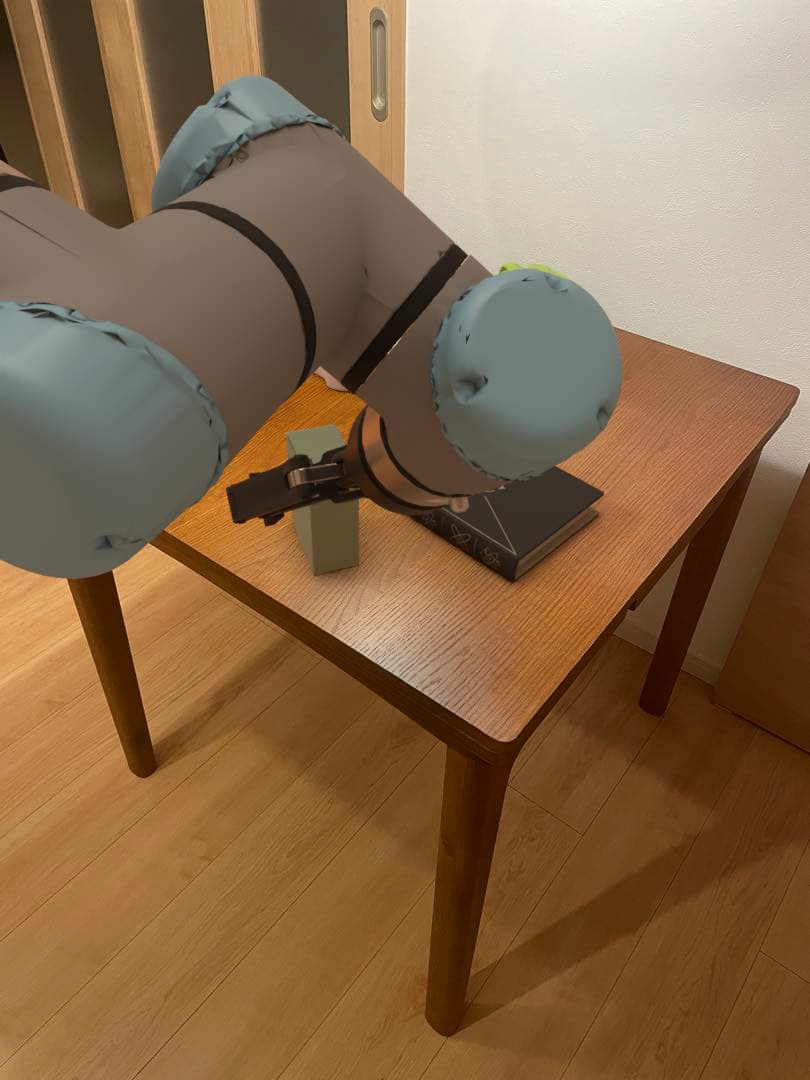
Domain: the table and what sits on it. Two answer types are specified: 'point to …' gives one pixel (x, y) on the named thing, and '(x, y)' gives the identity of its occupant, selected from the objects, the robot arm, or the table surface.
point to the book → (518, 520)
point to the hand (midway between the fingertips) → (349, 492)
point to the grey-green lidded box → (325, 509)
